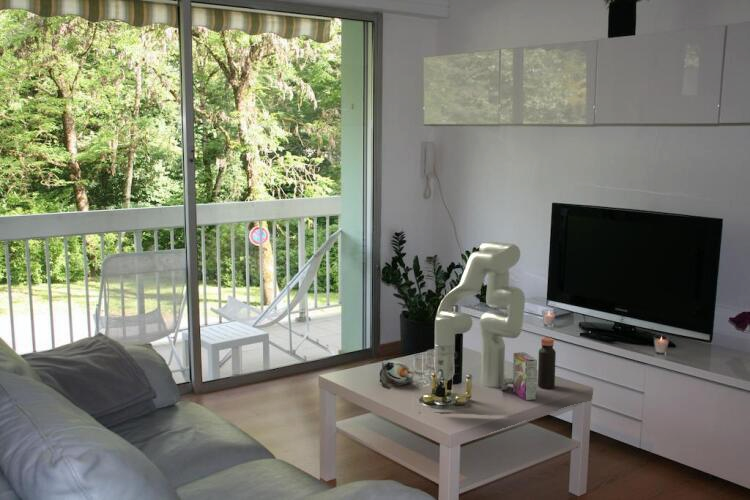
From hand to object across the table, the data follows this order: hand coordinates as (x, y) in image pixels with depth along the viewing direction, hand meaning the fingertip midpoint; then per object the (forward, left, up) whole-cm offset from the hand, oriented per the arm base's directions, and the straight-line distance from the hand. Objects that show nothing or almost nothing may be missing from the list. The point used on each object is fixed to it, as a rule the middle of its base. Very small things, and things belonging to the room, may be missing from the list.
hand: (444, 393), depth 294 cm
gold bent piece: (-8, -4, -4) cm, 9 cm away
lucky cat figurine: (+20, -27, -6) cm, 34 cm away
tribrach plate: (0, -5, -6) cm, 8 cm away
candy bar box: (-31, -18, -6) cm, 37 cm away
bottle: (-41, -31, -6) cm, 52 cm away
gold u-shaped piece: (+1, -10, -4) cm, 11 cm away
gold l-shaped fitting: (+3, -1, -4) cm, 6 cm away
